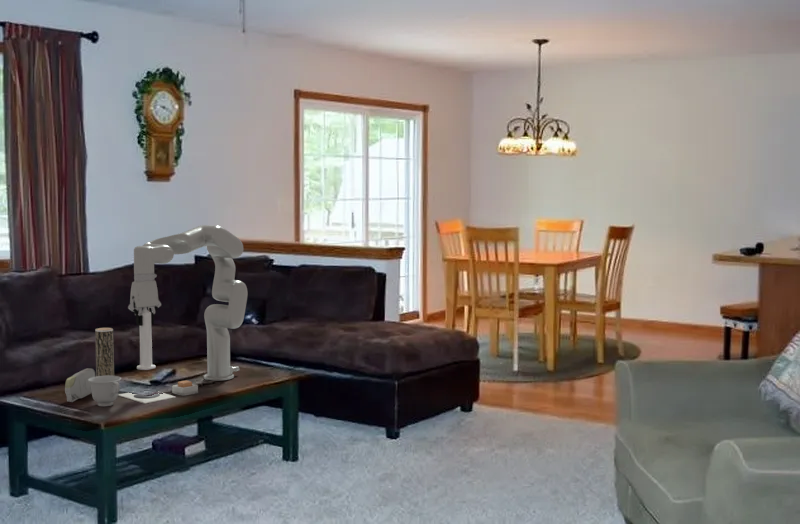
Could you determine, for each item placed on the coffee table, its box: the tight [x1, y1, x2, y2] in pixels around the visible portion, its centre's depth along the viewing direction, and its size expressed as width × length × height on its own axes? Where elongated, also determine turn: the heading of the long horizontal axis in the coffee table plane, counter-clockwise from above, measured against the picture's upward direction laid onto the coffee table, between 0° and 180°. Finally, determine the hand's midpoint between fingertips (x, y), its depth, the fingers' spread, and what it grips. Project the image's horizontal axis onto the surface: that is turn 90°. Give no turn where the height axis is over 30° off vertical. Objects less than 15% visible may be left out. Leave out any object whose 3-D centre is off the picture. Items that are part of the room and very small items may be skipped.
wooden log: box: [94, 327, 115, 377], centre depth 392 cm, size 7×7×25 cm
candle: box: [136, 307, 156, 371], centre depth 381 cm, size 7×7×25 cm
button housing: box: [171, 383, 199, 397], centre depth 390 cm, size 7×7×3 cm
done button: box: [177, 379, 193, 388], centre depth 390 cm, size 4×4×2 cm
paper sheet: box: [117, 392, 177, 405], centre depth 384 cm, size 14×19×1 cm
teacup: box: [88, 375, 122, 407], centre depth 369 cm, size 12×15×10 cm
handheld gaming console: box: [64, 367, 96, 403], centre depth 380 cm, size 11×3×15 cm
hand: (145, 324), depth 381 cm, fingers closed on candle, 4 cm apart
